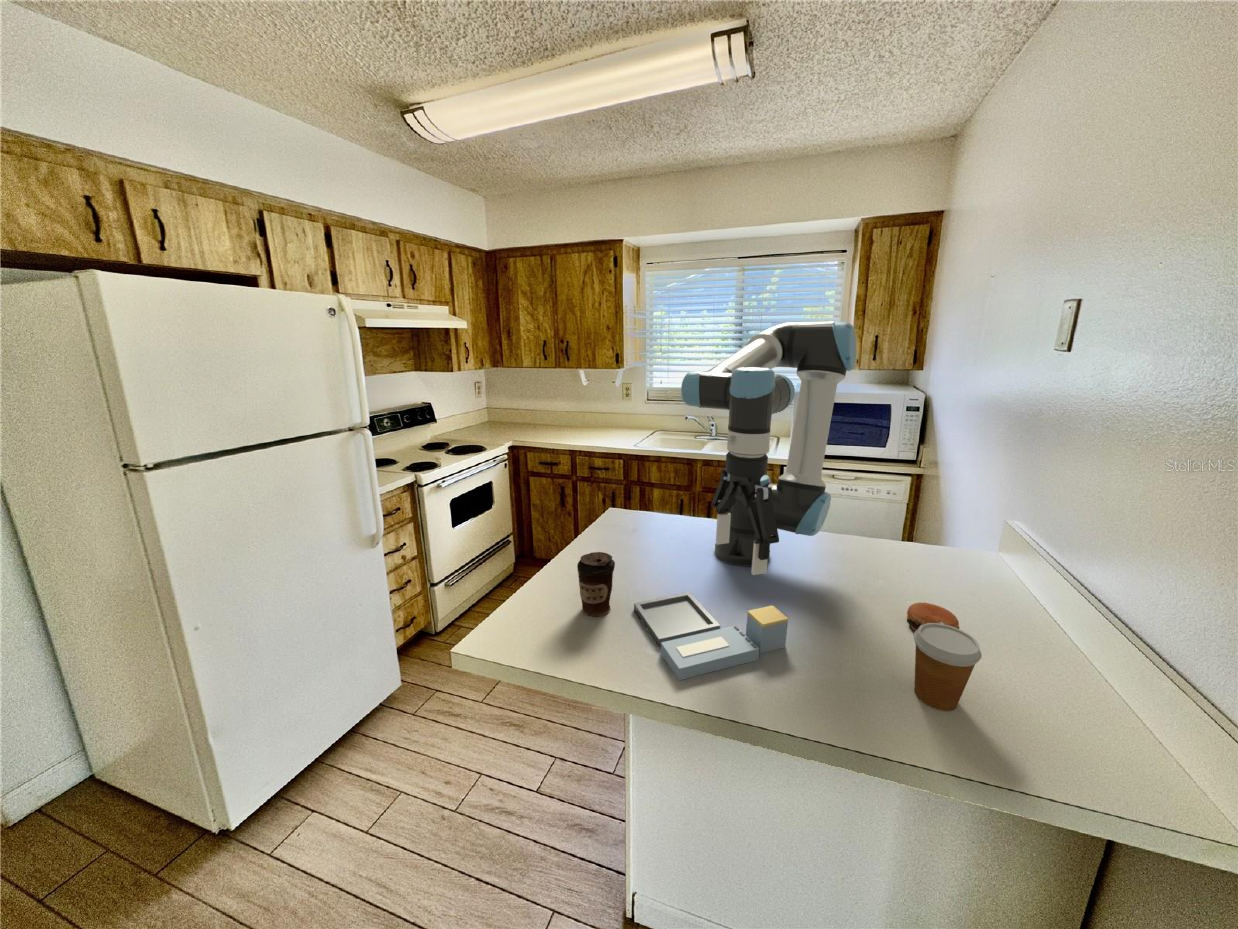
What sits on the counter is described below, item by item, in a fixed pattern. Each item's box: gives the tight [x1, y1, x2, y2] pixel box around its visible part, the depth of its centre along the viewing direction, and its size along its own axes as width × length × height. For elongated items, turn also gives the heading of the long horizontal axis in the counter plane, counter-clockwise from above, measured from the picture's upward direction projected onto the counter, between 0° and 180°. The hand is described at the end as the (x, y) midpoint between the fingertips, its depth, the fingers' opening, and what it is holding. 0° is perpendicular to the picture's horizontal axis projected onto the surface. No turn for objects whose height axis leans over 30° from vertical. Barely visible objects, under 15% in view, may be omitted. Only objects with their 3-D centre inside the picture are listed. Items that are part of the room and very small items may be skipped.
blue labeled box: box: [660, 625, 760, 681], centre depth 94 cm, size 17×8×3 cm, turn 109°
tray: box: [633, 591, 721, 648], centre depth 105 cm, size 14×14×2 cm
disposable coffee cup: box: [913, 623, 983, 712], centre depth 82 cm, size 10×10×12 cm
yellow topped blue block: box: [745, 604, 789, 654], centre depth 97 cm, size 6×5×7 cm
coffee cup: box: [576, 551, 616, 617], centre depth 108 cm, size 9×8×13 cm
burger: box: [906, 602, 960, 632], centre depth 102 cm, size 10×9×5 cm
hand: (739, 557), depth 95 cm, fingers open, 13 cm apart
